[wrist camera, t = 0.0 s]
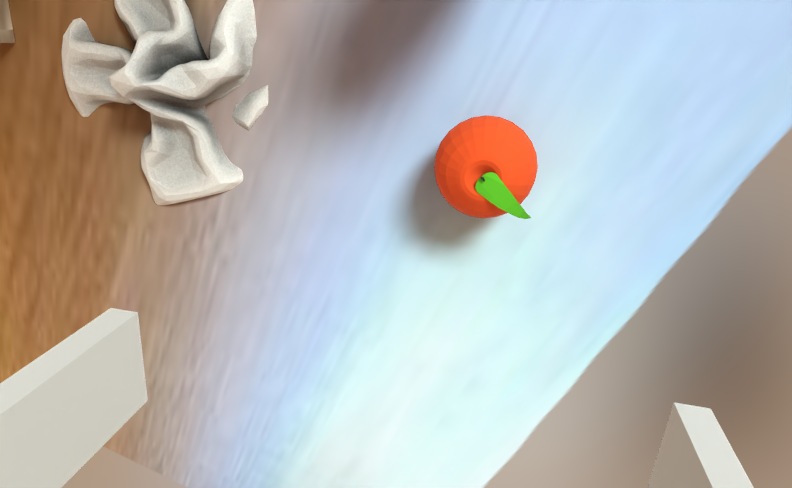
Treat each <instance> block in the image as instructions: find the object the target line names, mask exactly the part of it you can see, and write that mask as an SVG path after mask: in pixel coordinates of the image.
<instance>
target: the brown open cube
mask: <svg viewBox="0 0 792 488" xmlns="http://www.w3.org/2000/svg"><path fill="white" fill-rule="evenodd" d="M0 43H15V38H14V32H13V27H12V21H11V15H10V9H9V3H8V0H0Z"/></svg>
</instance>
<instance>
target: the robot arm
mask: <svg viewBox="0 0 792 488" xmlns="http://www.w3.org/2000/svg"><path fill="white" fill-rule="evenodd" d="M147 401H148V400H147V391H146V382H145V373H144V364H143V355H142V346H141V337H140V328H139V320H138V312H132V311H126V310H120V309H114V308H110V309H109V310H107V311H106V312H104V313H103V314H101V315H100V316H99V317H97V318H96V319H94V320H93V321H91V322H90V323H88V324H87V325H85V326H84V327H82V328H81V329H79V330H78V331H77V332H75V333H74V334H72V335H71V336H69V337H68V338H66V339H65V340H63V341H62V342H60V343H59V344H57V345H56V346H55V347H53V348H52V349H50V350H49V351H47V352H46V353H44V354H43V355H41V356H40V357H38V358H37V359H36V360H34V361H33V362H31V363H30V364H28V365H27V366H25V367H24V368H22V369H21V370H19V371H18V372H16V373H15V374H14V375H12V376H11V377H9V378H8V379H6V380H5V381H3V382H2V383H0V488H61V487H62V486H63V485H64V484H65V483H66V482H67V481H68V480H69V479H70V478H71V477H72V476H73V475H74V474H75V473H76V472H77V471H78V470H79V469H80V468H81V467H82V466H83V465H84V464H85V463H86V462H87V461H88V460H89V459H90V458H91V457H92V456H93V455H94V454H95V453H96V452H97V451H98V450H99V449H100V448H101V447H102V446H103V445H104V444H105V443H106V442H107V441H108V440H109V439H110V438H111V437H112V436H113V435H114V434H115V433H116V432H117V431H118V430H119V429H120V428H121V427H122V426H123V425H124V424H125V423H126V422H127V421H128V420H129V419H130V418H131V417H132V416H133V415H134V414H135V413H136V412H137V411H138V410H139V409H140V408H141V407H142V406H143V405H144V404H145V403H146V402H147ZM648 488H753V486H752V484H751V482H750V480H749V478H748V476H747V475H746V473H745V472H744V469H743V467H742V466H741V464H740V462H739V460H738V458H737V456H736V454H735V453H734V451H733V449H732V447H731V445H730V444H729V442H728V440H727V438H726V436H725V434H724V432H723V431H722V429H721V427H720V425H719V423H718V421H717V420H716V418H715V416H714V414H713V412H712V410H711V409H710V408H704V407H698V406H692V405H686V404H680V403H674V404H673V408H672V410H671V413H670V417H669V420H668V423H667V426H666V429H665V433H664V436H663V439H662V442H661V446H660V449H659V452H658V455H657V458H656V462H655V465H654V468H653V471H652V475H651V478H650V481H649V484H648Z"/></svg>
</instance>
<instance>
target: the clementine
mask: <svg viewBox="0 0 792 488" xmlns="http://www.w3.org/2000/svg"><path fill="white" fill-rule="evenodd" d="M536 172H537V156H536V152H535V149H534V147H533V144H532V142H531V140H530V139H529V138H528V136H527V135H526V133H525V132H524V131H523V130H522V129H521V128H519V127H518V126H517V125H515V124H514V123H513V122H510V121H508V120H505V119H503V118H501V117H494V116H480V117H473V118H470V119H468V120H466V121H463V122H461V123H459V124H458V125H457V126H455V127H454V128H453V129H452V130H450V131H449V132H448V134H447V135H446V136H445V138H444V139H443V140H442V142H441V143H440V146H439V148H438V151H437V153H436V160H435V175H436V182H437V185H438V187H439V189H440V192H441V194H442V195H443V196H444V198H445V199H446V200H447V201H448V203H449V204H450V205H452V206H453V207H454V208H456V209H457V210H458V211H460V212H462V213H465V214H467V215H469V216H473V217H480V218H489V217H497V216H500V215H503V214H505V213H510V214H512V215H514V216H516V217H519V218H524V219H528V218H531V217H530V216H529V215H528V214H527V213H526V212H525V211H524V209H523V208H522V207H521V205H520V204H521V203H522V202H523V200H524V199H525V198H526V197H527V196H528V194H529V192H530V190H531V188H532V186H533V184H534V182H535V178H536Z"/></svg>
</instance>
